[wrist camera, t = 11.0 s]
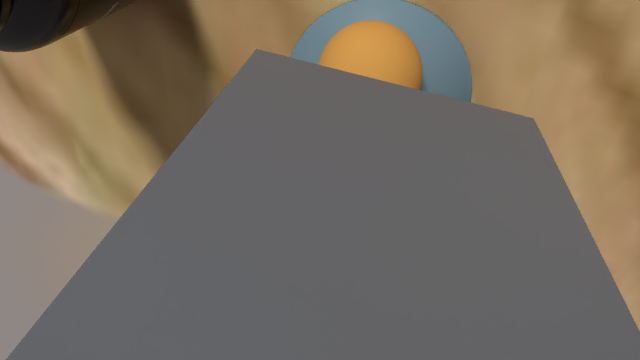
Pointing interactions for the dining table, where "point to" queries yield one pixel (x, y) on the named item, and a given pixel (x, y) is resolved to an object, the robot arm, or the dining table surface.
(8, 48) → the supplement bottle
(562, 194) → the rectangular block
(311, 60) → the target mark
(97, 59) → the dining table surface
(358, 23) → the ball
